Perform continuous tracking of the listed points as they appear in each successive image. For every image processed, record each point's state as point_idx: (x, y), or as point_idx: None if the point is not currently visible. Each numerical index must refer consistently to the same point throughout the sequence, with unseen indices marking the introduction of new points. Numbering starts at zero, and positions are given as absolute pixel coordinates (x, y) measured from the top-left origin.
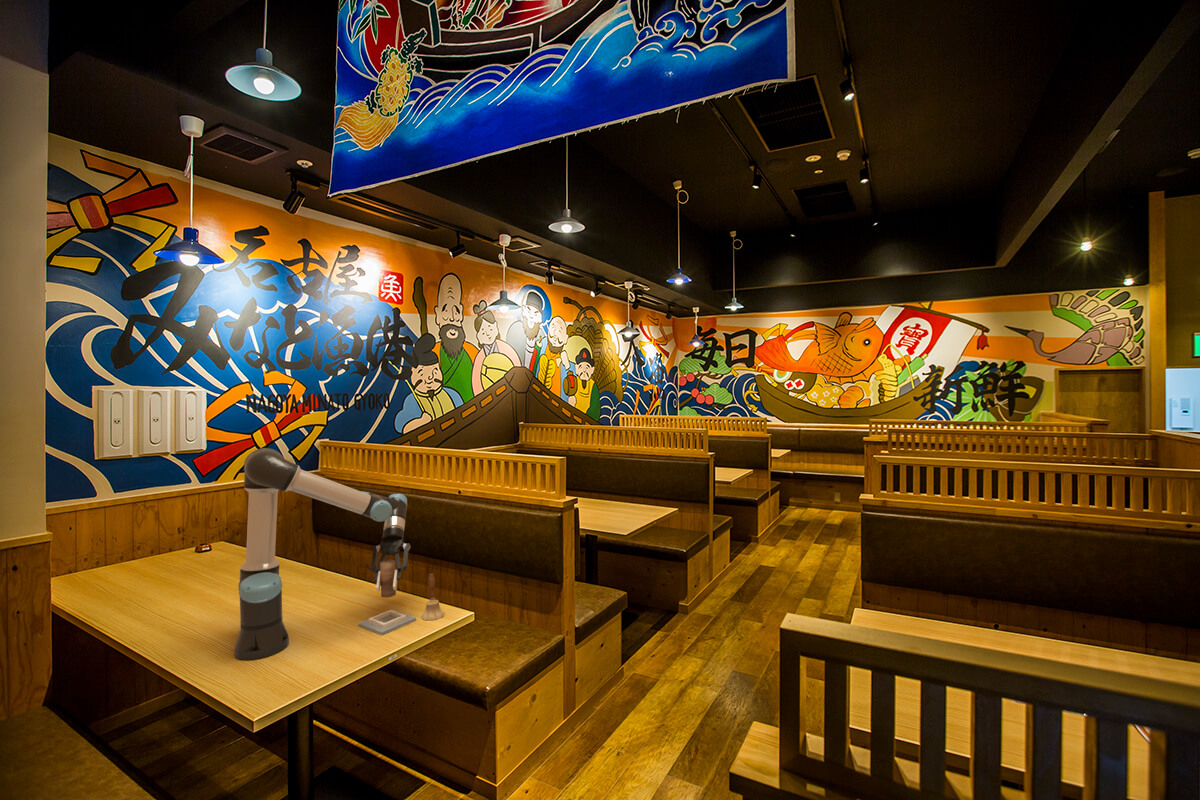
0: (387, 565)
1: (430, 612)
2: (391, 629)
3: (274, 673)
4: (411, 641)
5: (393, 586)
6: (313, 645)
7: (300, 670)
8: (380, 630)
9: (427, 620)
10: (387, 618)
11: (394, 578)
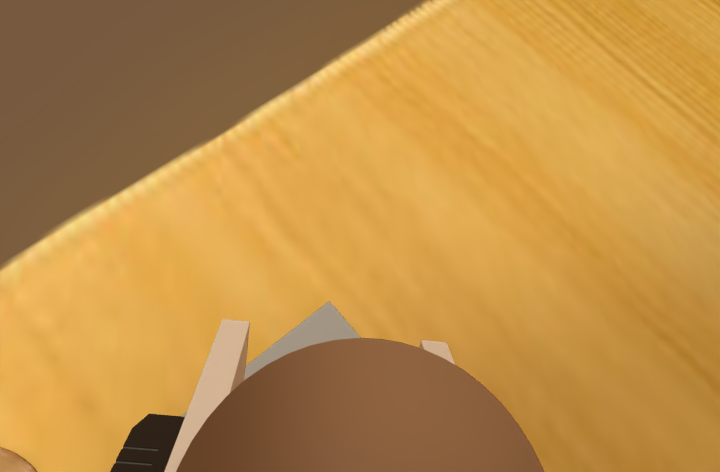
0: (348, 349)
1: None
2: (274, 346)
3: (694, 105)
4: (160, 179)
5: (242, 324)
6: (663, 302)
7: (607, 93)
8: (340, 333)
9: (15, 454)
10: None
11: (221, 388)
